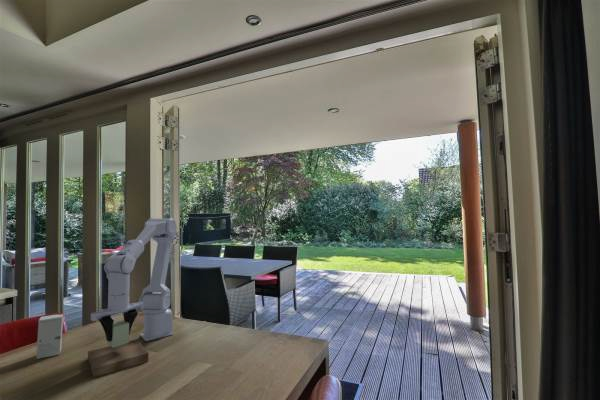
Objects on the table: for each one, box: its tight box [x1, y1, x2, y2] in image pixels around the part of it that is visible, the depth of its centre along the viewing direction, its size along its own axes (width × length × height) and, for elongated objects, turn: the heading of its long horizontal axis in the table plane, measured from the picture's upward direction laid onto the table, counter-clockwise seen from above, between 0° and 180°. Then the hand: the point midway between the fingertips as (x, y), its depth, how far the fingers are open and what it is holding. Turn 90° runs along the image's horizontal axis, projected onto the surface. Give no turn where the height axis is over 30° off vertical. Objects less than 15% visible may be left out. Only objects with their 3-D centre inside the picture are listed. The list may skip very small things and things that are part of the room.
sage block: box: [106, 319, 130, 348], centre depth 93 cm, size 4×4×6 cm
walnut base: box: [87, 338, 149, 378], centre depth 93 cm, size 14×14×2 cm
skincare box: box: [35, 313, 64, 360], centre depth 98 cm, size 6×4×12 cm
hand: (118, 337), depth 93 cm, fingers closed on sage block, 4 cm apart
